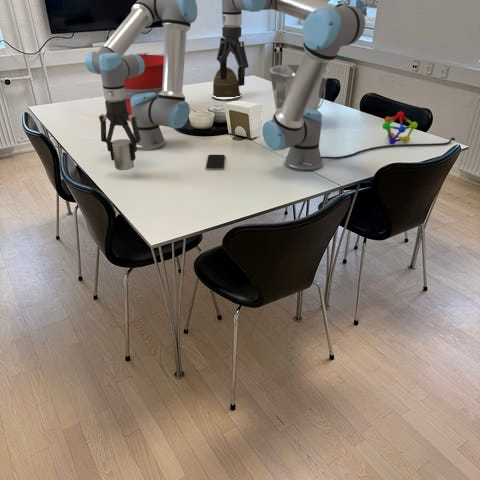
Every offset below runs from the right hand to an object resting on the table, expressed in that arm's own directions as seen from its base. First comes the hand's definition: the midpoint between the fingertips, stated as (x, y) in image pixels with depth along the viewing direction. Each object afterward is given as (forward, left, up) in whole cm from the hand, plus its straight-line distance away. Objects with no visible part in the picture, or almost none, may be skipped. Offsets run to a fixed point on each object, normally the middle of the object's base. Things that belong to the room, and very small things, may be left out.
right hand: (232, 82), depth 184 cm
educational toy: (-72, +33, -30) cm, 84 cm away
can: (+51, 0, -26) cm, 57 cm away
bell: (-48, -83, -30) cm, 100 cm away
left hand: (+51, 0, -23) cm, 56 cm away
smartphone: (+13, +8, -30) cm, 34 cm away
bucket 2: (-49, -14, -30) cm, 59 cm away
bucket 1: (+11, -74, -30) cm, 81 cm away
